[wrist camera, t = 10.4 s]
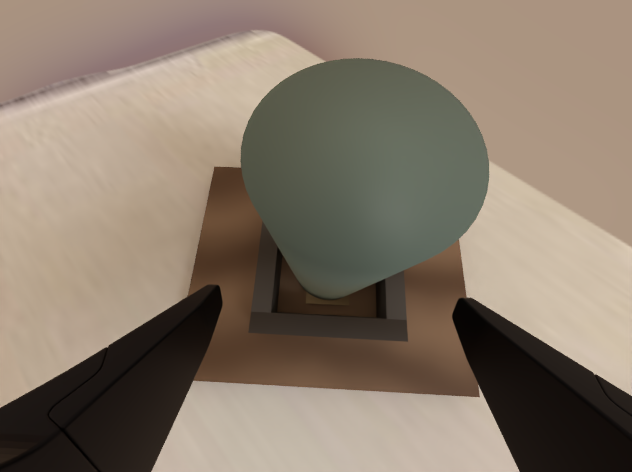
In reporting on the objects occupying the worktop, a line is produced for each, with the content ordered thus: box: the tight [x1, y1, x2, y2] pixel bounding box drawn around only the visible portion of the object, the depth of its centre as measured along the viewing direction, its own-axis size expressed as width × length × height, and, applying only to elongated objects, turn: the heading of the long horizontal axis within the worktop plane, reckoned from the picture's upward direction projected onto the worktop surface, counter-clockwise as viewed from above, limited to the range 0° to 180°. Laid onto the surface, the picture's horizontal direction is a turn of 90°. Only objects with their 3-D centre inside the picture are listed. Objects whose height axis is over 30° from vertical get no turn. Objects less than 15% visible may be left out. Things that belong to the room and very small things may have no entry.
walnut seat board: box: [188, 167, 480, 397], centre depth 17 cm, size 16×20×4 cm
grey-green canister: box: [241, 58, 489, 300], centre depth 11 cm, size 5×5×13 cm
